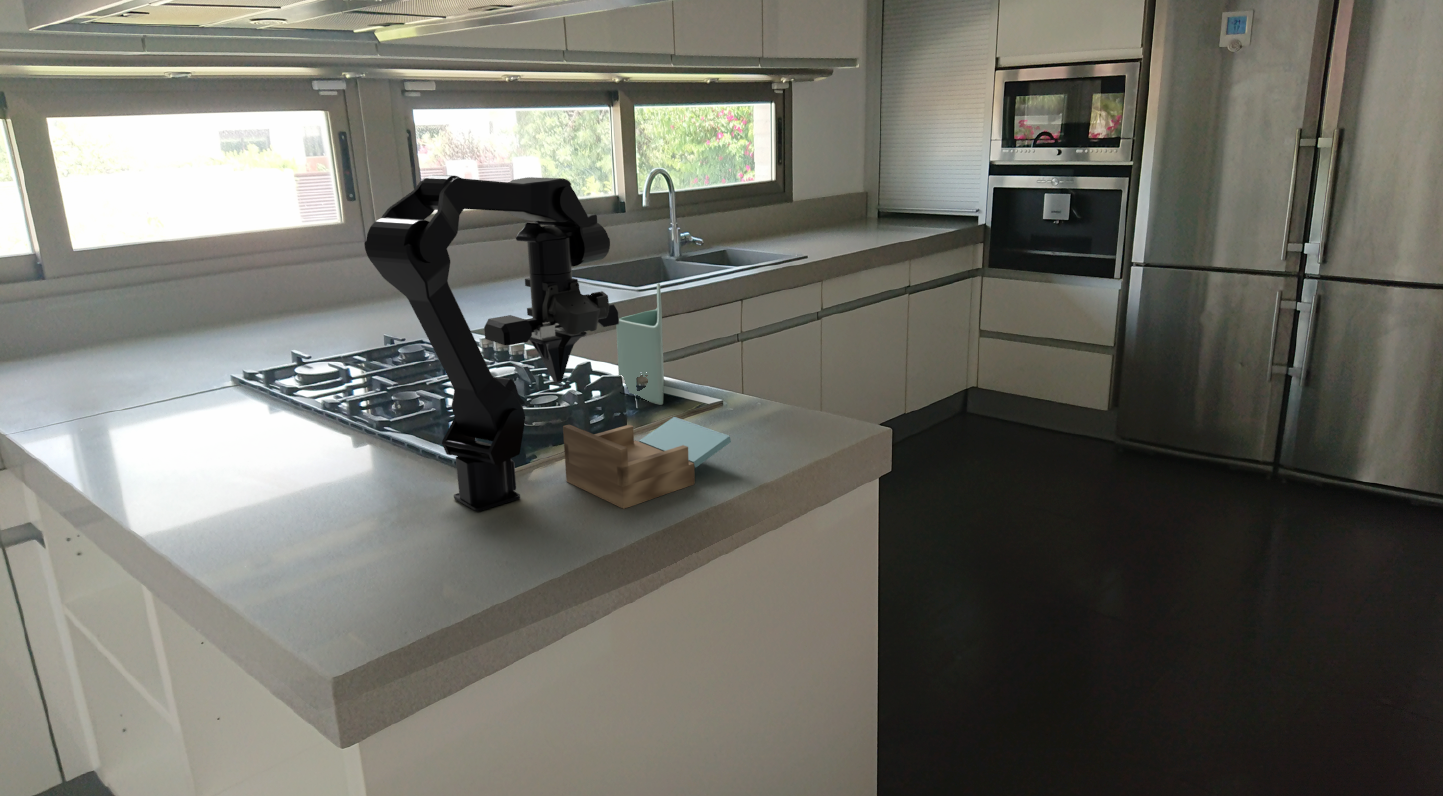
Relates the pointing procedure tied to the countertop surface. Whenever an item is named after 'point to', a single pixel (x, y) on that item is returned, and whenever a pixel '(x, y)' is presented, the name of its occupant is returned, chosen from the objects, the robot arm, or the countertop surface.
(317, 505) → the countertop surface
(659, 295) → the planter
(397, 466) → the countertop surface
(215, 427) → the countertop surface
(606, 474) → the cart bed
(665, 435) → the panel
